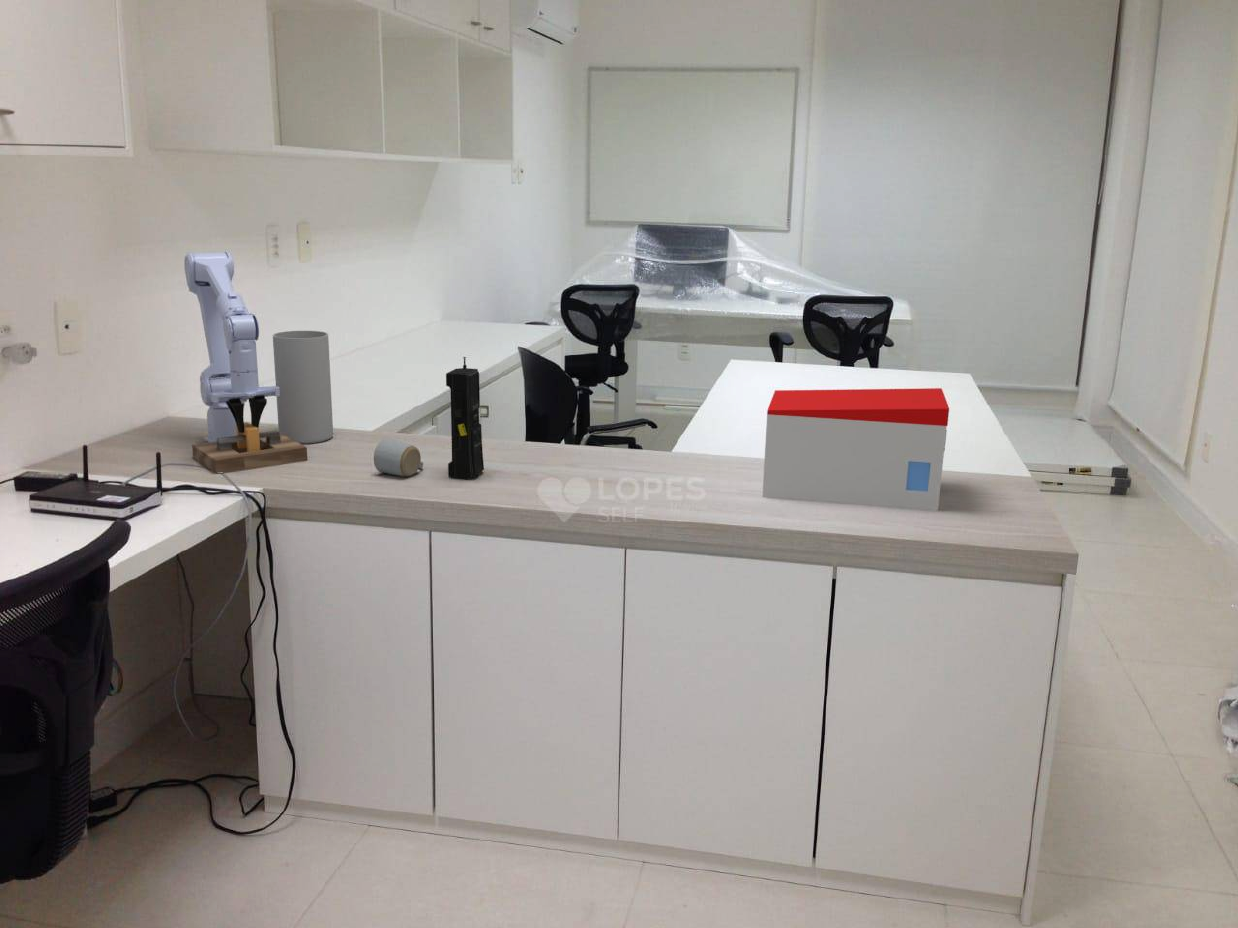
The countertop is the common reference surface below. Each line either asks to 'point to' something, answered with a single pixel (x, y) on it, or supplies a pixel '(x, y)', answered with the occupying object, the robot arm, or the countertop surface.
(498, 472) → the countertop surface
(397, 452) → the ceramic mug
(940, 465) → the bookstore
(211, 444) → the hook board
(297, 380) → the cylinder vase
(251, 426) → the orange c-shaped bracket
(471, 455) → the portable radio
